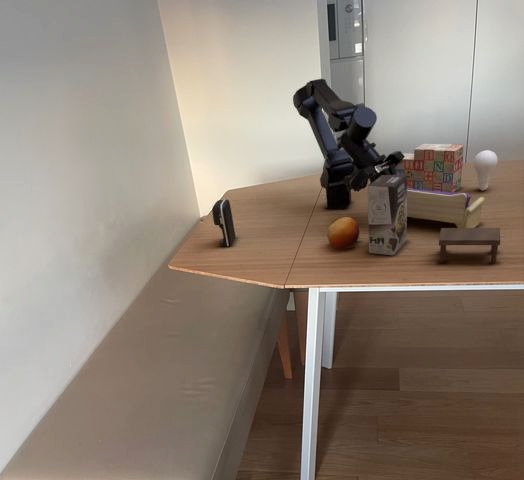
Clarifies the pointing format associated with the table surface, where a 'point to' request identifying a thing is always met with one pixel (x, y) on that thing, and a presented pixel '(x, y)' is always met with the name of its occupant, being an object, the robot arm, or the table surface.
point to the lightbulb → (485, 167)
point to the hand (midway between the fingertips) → (398, 195)
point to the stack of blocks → (433, 167)
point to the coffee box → (387, 214)
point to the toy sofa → (444, 207)
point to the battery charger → (224, 221)
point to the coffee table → (469, 239)
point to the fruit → (343, 233)
